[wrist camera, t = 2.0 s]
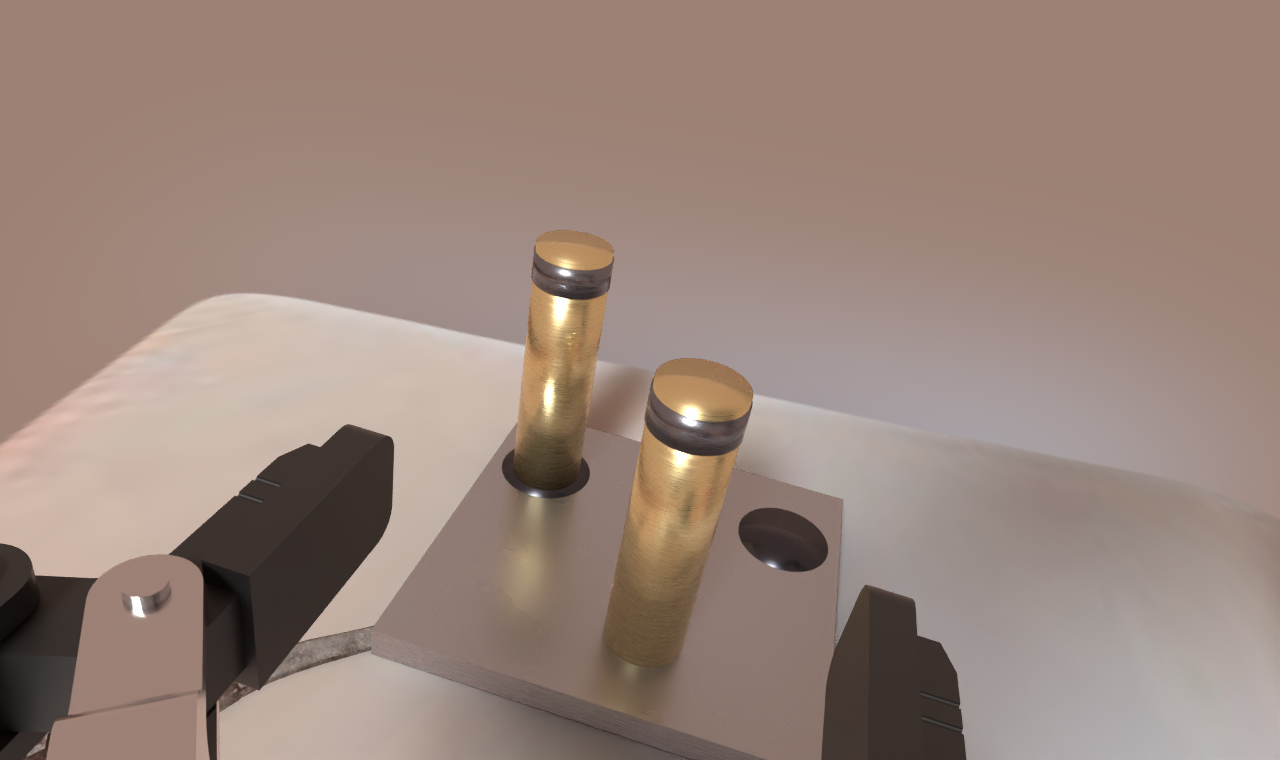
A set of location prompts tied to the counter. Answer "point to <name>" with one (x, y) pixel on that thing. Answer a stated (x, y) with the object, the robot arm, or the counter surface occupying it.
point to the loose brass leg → (674, 506)
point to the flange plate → (578, 600)
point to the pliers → (296, 661)
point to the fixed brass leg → (560, 355)
